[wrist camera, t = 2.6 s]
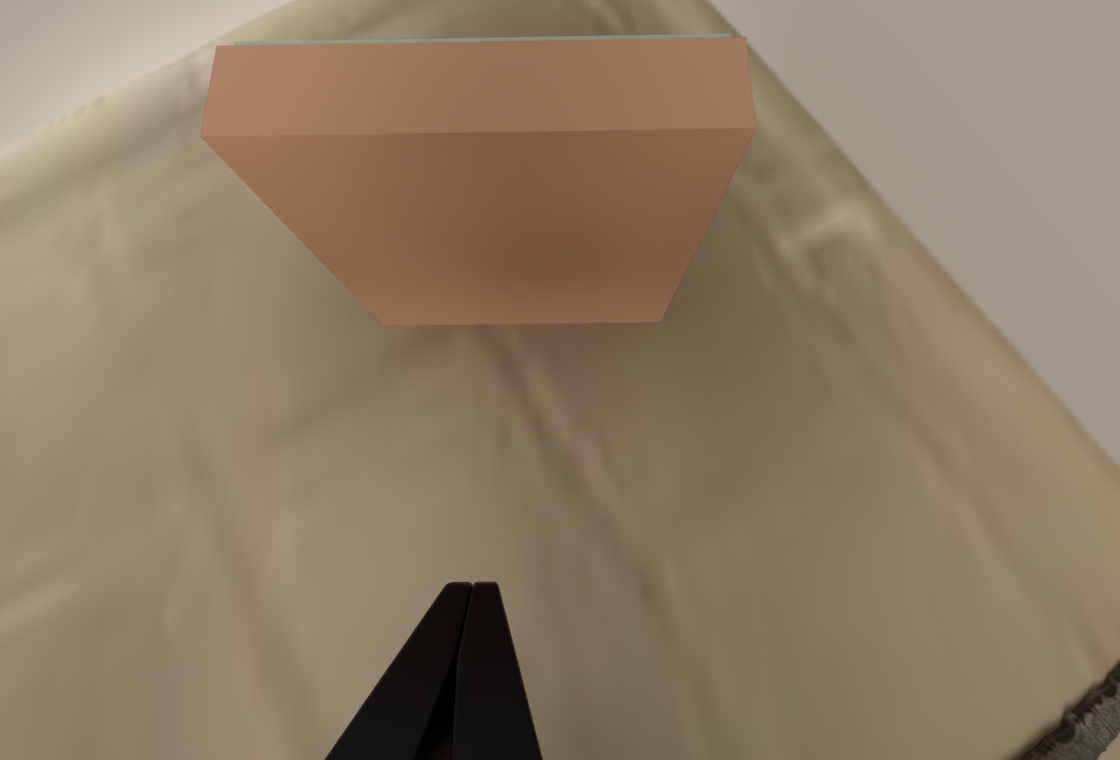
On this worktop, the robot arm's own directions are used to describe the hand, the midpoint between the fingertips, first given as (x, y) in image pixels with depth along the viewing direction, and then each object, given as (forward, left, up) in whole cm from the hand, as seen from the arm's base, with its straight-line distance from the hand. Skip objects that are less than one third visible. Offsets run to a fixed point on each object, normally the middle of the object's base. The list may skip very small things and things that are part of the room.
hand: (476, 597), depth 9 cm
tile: (+9, -3, -9) cm, 13 cm away
